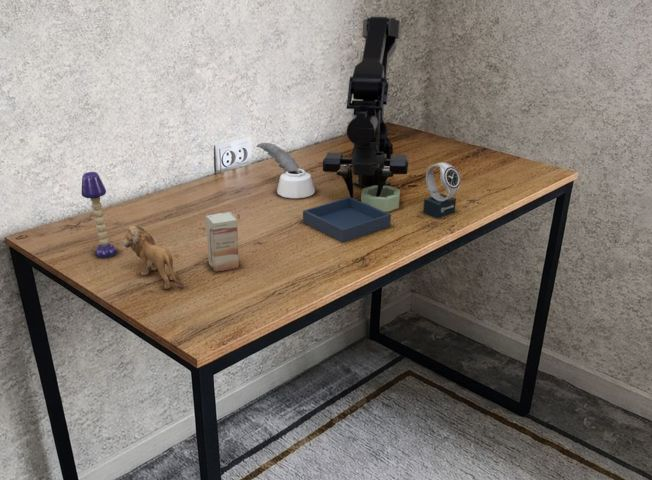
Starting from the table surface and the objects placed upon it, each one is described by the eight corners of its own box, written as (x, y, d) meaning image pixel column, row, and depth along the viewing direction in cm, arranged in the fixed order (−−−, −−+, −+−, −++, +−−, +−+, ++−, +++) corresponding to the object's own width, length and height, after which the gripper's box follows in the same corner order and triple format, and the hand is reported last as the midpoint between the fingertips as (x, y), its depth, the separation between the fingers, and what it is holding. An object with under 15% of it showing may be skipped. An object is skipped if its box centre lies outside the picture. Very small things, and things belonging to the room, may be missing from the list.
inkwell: (297, 202, 178) (296, 159, 172) (242, 185, 188) (240, 144, 183) (323, 191, 184) (323, 149, 178) (268, 175, 194) (267, 135, 189)
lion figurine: (122, 271, 148) (115, 228, 143) (143, 262, 151) (138, 219, 147) (173, 293, 140) (168, 248, 135) (195, 283, 143) (190, 238, 139)
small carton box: (215, 272, 147) (211, 223, 142) (208, 263, 150) (204, 215, 145) (240, 267, 149) (237, 218, 143) (233, 258, 152) (230, 210, 147)
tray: (302, 222, 167) (302, 210, 166) (349, 208, 174) (349, 196, 173) (342, 242, 158) (343, 230, 157) (390, 226, 165) (391, 214, 163)
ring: (354, 203, 176) (354, 191, 175) (381, 195, 181) (382, 182, 179) (378, 214, 171) (379, 201, 169) (406, 205, 175) (407, 192, 173)
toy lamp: (104, 260, 152) (90, 179, 144) (87, 255, 155) (73, 175, 146) (121, 251, 156) (109, 171, 147) (104, 247, 158) (91, 168, 149)
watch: (444, 220, 167) (448, 171, 161) (417, 210, 172) (420, 162, 166) (461, 214, 170) (466, 165, 164) (434, 204, 175) (438, 157, 169)
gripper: (319, 141, 162) (319, 211, 170) (408, 143, 159) (404, 214, 168) (325, 126, 171) (325, 193, 179) (410, 128, 169) (406, 196, 177)
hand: (364, 199), depth 176 cm, fingers open, 5 cm apart
